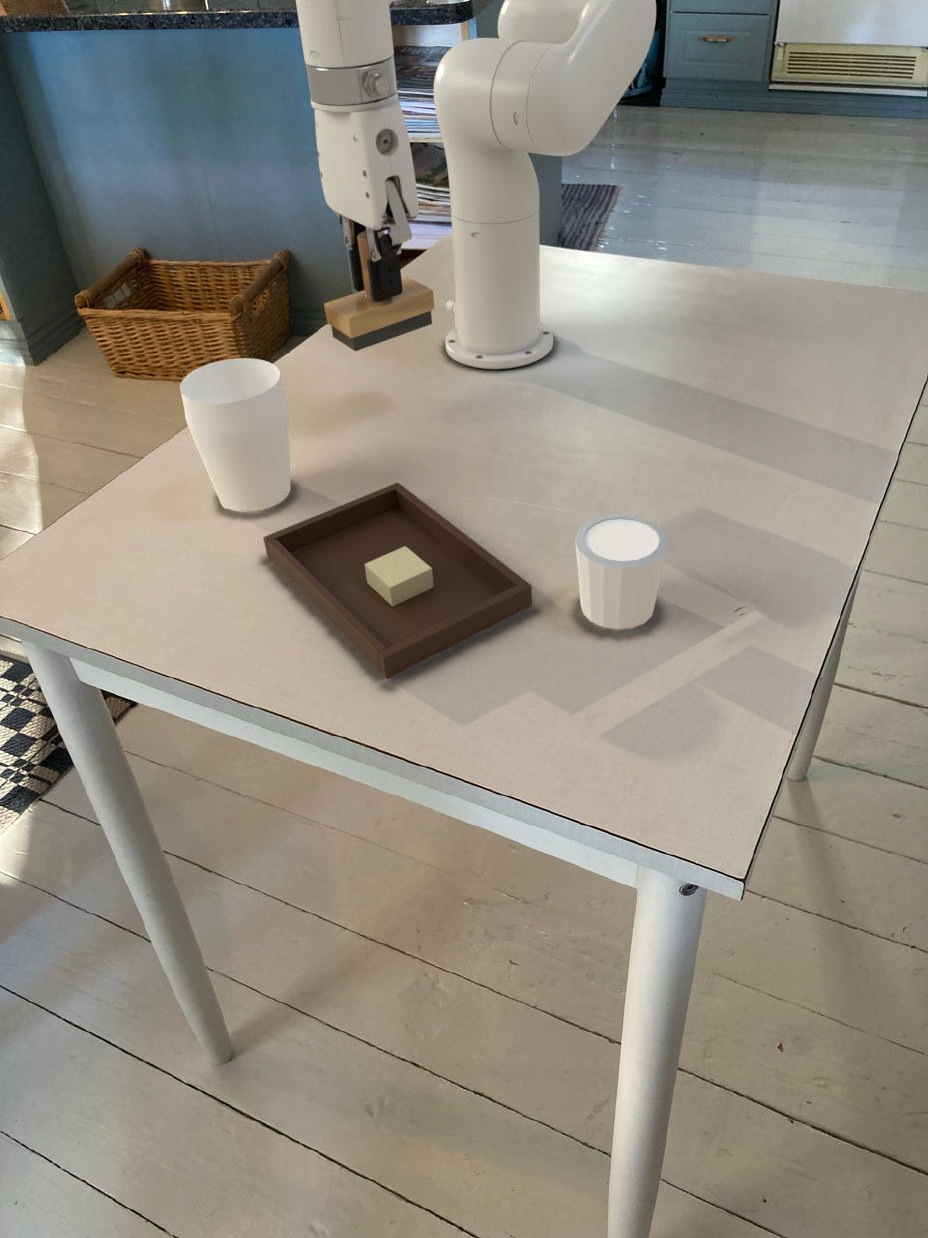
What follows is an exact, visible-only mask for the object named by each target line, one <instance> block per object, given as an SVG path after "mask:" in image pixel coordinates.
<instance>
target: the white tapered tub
mask: <svg viewBox="0 0 928 1238" xmlns="http://www.w3.org/2000/svg"><path fill="white" fill-rule="evenodd" d="M574 543H575V554H576V566H577V567H576V568H577V577H578V578H577V579H578V591H579V600H580V607H581V611H582V614H583V615H584V616H585V617H586V618H587V620H589V621H590V622H591V623H593V624H595V625H598V626H600V627H601V628H606V629H611V630H626V629H633V628H636V627H638V626H641V625H644V624H645V623H646V622H647V621H648V620H649V619H650V618H652V616H653V614H654V610H655V606H656V602H657V597H658V592H659V587H660V582H661V577H662V572H663V568H664V563H665V558H666V554H667V549H668V544H669V540H668V537H667V535H666V532H665V530H664V529H662V528H661V526H659V525H658V524H656V523H655V522H654V521H652V520H649V519H646V518H644V517H641V516H638V515H631V514H623V513H618V514H607V515H601V516H598V517H597V518H594V519H591V520H588V521H587V522H586V523H585V524H583V525H582V526H581V527H580V528H578V530H577V533H576V536H575V539H574Z"/></svg>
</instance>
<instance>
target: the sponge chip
mask: <svg viewBox="0 0 928 1238" xmlns="http://www.w3.org/2000/svg"><path fill="white" fill-rule="evenodd" d="M365 570H366V577H367V583H368V584H369V585H370V586H371V587H372V588H373V589H374V590H375V591H376V592H378V593H379V594H380V595H381V596H382V597H383V598H384V599H385V600H386V601H387V602H388V603H389V604H390V605H391V606H395V605H397V604H399V603H401V602H404V601H406V600H408V599H410V598H412V597H414V596H416V595H418V594H421V593H423V592H425V591H427V590H429V589H431V588H433V587H434V586H433V575H432V568H431V567H430V566H429V565H427V564H426V563H425V562H424V561H423V560H422V559H420V558H419V557H418V556H417V555H416V554H414V553H413V552H412V551H411V550H410V549H408V548H407V547H406V546H404V547H402V548H400V549H398V550H395V551H393V552H391V553H388V554H386V555H384V556H382V557H379V558H377V559H375V560H373V561H370V562H368V563H366V564H365Z"/></svg>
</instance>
